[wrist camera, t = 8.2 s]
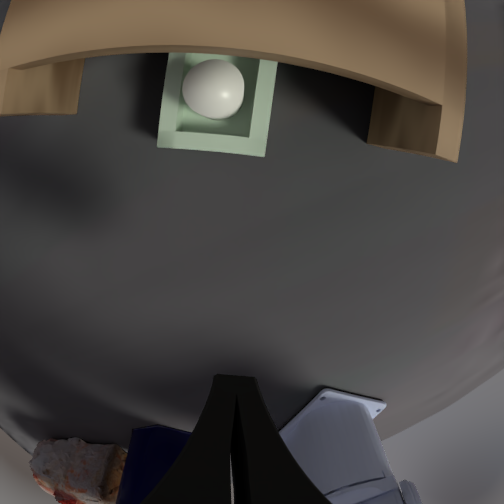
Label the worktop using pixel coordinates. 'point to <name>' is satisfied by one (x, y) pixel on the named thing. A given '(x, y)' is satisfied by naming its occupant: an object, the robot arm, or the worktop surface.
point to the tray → (217, 134)
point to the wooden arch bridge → (257, 52)
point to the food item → (78, 470)
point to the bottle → (149, 460)
